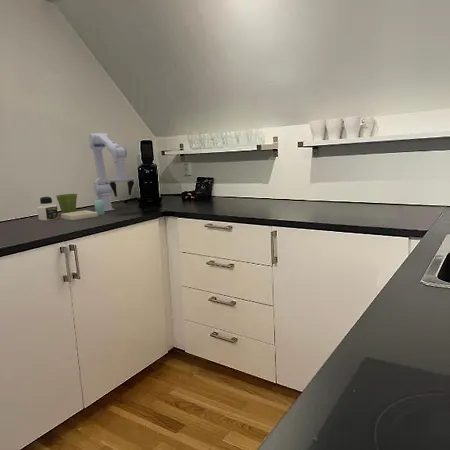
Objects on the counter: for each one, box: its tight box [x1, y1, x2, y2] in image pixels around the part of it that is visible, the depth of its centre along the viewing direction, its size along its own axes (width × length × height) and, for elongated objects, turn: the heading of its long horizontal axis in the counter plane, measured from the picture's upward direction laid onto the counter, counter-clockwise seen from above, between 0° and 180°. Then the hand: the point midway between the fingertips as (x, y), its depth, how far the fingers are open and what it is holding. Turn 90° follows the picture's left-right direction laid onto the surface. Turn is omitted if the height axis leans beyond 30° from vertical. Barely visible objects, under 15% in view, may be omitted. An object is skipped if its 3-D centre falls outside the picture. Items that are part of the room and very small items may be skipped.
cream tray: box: [60, 210, 99, 222], centre depth 236 cm, size 14×14×2 cm
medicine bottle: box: [36, 196, 59, 222], centre depth 235 cm, size 7×7×12 cm
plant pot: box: [55, 193, 78, 214], centre depth 249 cm, size 12×12×11 cm
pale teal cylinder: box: [93, 199, 106, 216], centre depth 244 cm, size 5×5×8 cm
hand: (122, 195), depth 240 cm, fingers open, 7 cm apart
